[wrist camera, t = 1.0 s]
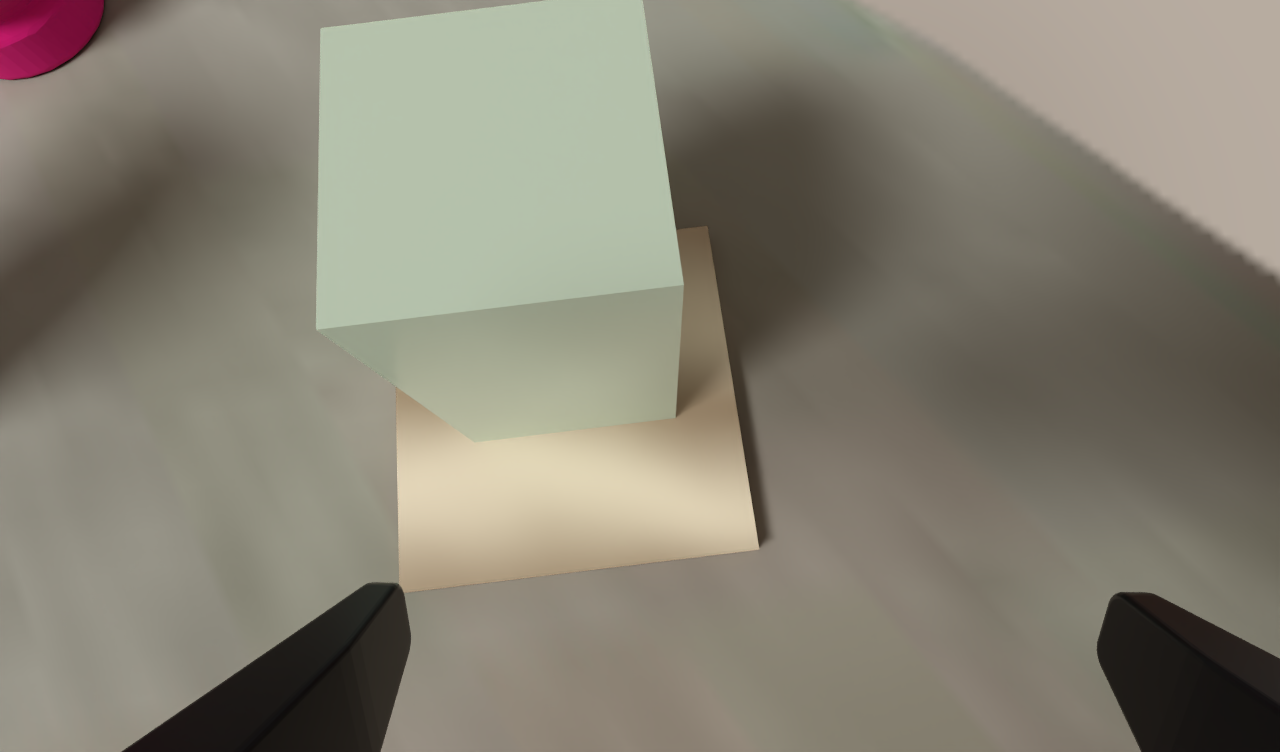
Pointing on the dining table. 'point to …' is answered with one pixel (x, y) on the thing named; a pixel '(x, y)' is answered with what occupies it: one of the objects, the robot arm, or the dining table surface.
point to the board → (584, 476)
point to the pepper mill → (44, 34)
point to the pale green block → (501, 215)
